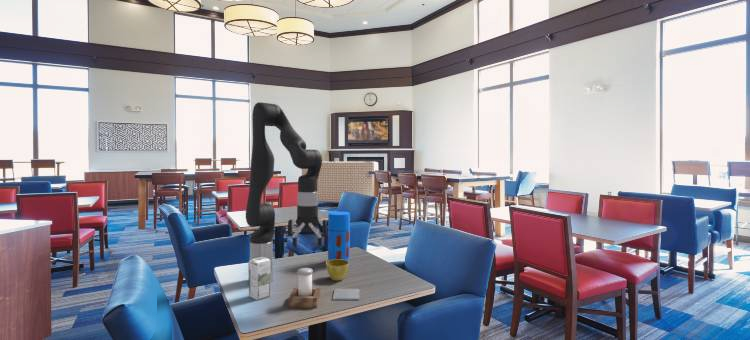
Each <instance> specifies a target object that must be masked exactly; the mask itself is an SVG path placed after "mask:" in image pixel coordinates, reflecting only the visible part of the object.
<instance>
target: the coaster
mask: <svg viewBox="0 0 750 340" xmlns="http://www.w3.org/2000/svg"><path fill="white" fill-rule="evenodd" d="M360 290H361V289H360V288H334V289H333V291H334V292H333V296H332V300H333V301H360V293H361V292H360Z"/></svg>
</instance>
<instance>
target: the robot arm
mask: <svg viewBox="0 0 750 340" xmlns="http://www.w3.org/2000/svg"><path fill="white" fill-rule="evenodd" d="M251 119H252V120H251V123H252V125H251V126H252V127H251V128H252V145H251V146H252V148H251V158H250V159H251V160H250V174H249V175H250V177H249V187H248V195H247V201H246V207H245V208H246V209H245V221H246V223H247V225H248V226H249V227H252V228H256V227H258V229H257V230H256V231H255V232H253V233H251V234H250V236H249V260H252V259H256V258H260V257H265V258H267V259H269V260H271V268H270V283H272V282H273V281H274V279H273V276H274V273H273V272H274V270H273V269H274V268H273V265H274V262H273V260H274V259H273V257H274V256H273V255H274V251H273V249H274V248H273V247H274V243H273V242H274V240H273V237H274V235H275V226H276V224H275V223H276V212H275V208H274V206H273V205H272V204H271V203H269V202H266V203H264V202H263V203H261V202H262V197H263V193H264V191H265V189H266V187H268V185H269V184H270V181H271V179H272V178H273V175H274V172H275V169H274V168H275V155H274V153H273V152H272V149H271V147H270V145H269V143H268V142H267V141H268V140H267V139H266V127H275V128H277V130H279V131H280V133H279V139H280V142H281V144H282V145H283V147H284V149H286V150H287V152H289V155H290V158H291V160H292V164H293V165H294V166H295V167H296V168H298V169H301V170H303V169H304V170H305V169H307V171H306V173H305V174H303V175H300V176H299V177H298V178H297V198H296V203H297V204H296V205H297V206H296V208H297V210H296V212H297V213H296V219H293V218H290V219H288V221H287V236H288V237H291V238H292V246H293V247H294V249H297V247H298V236H297V235H299V233H301V232H303V233H304V232H310V233H311V232H314V234H315V235H316V236H317V249H320V248H321V247H322V246H323V238H325V237H327V236H328V228H327V227H328V225H327V223H328V221H327V219H326V218H324V219H319V194H318V179H319V178H320V177H319V176H320V172H321V169H322V164H323V157H322V154H321V152H320V151H319V150H317V149H307V144H306V141H305V140H304V139H303V137H301V135H299V133H298V132H296V130H295V129H294V127H293V126H292V124H291V122H290V121H289V119H288V118H287V115H286V114H285V112H284V110H283V109H282V108H281V106H280V105H278V104H277V103H268V102H263V101H262V102H260V101H259V102H256V103H255V104H254V105H253V108H252V117H251ZM295 224H296V225H297V227H298V228H297V229H296V230H295V232H293V227H294V225H295ZM319 224H320V226H321V227H322V232H321V231H320V229H319V227H318V225H319Z"/></svg>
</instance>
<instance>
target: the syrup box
mask: <svg viewBox="0 0 750 340" xmlns="http://www.w3.org/2000/svg"><path fill="white" fill-rule="evenodd" d="M270 268H271V260H269V259H267V258H265V257H260V258H256V259H252V260H250V259H249V260H248V284H249V285H248V296H249V298H252V299H253V300H256V301H259V300H263V299H265V298H268V297H270V296H271V282H270Z"/></svg>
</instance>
